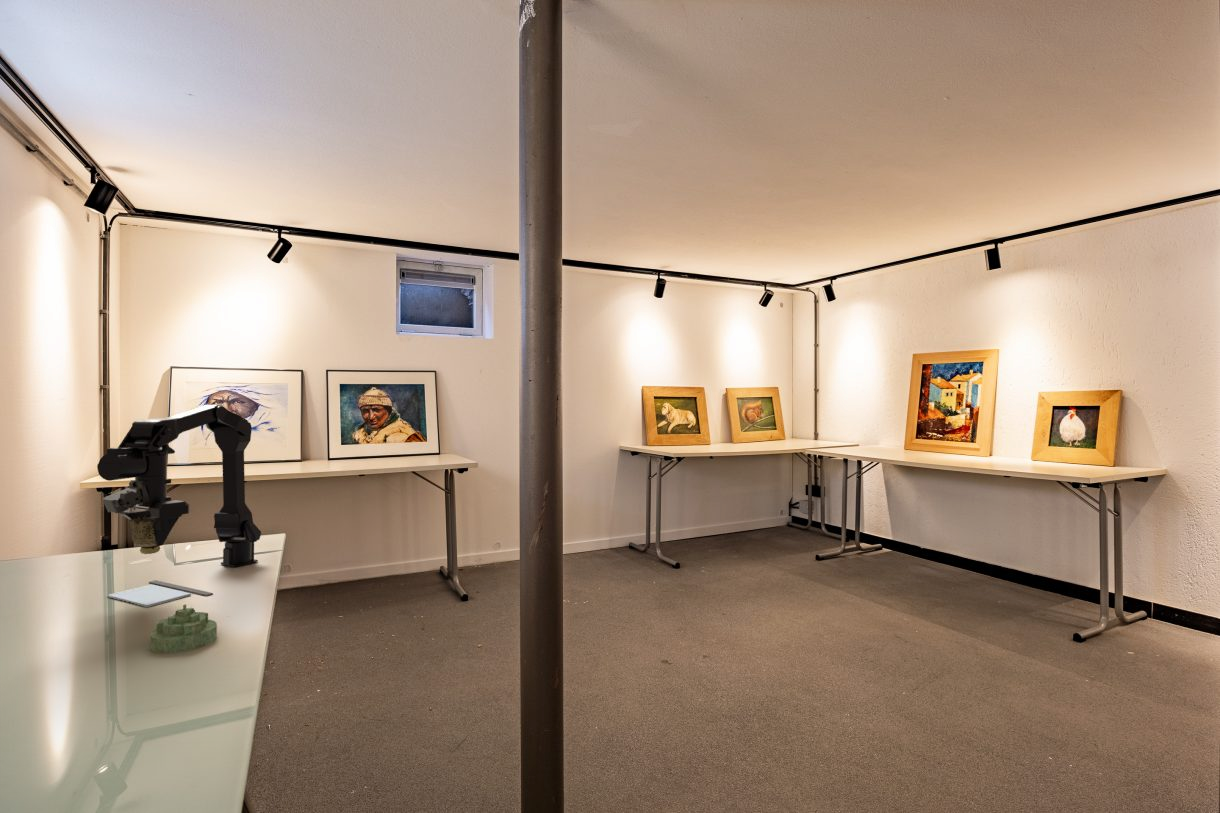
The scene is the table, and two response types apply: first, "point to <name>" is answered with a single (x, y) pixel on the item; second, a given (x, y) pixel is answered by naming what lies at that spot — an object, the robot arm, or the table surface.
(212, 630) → the decorative artifact
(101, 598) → the table surface
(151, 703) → the table surface
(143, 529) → the cup
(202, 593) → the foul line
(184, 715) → the table surface
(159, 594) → the board
